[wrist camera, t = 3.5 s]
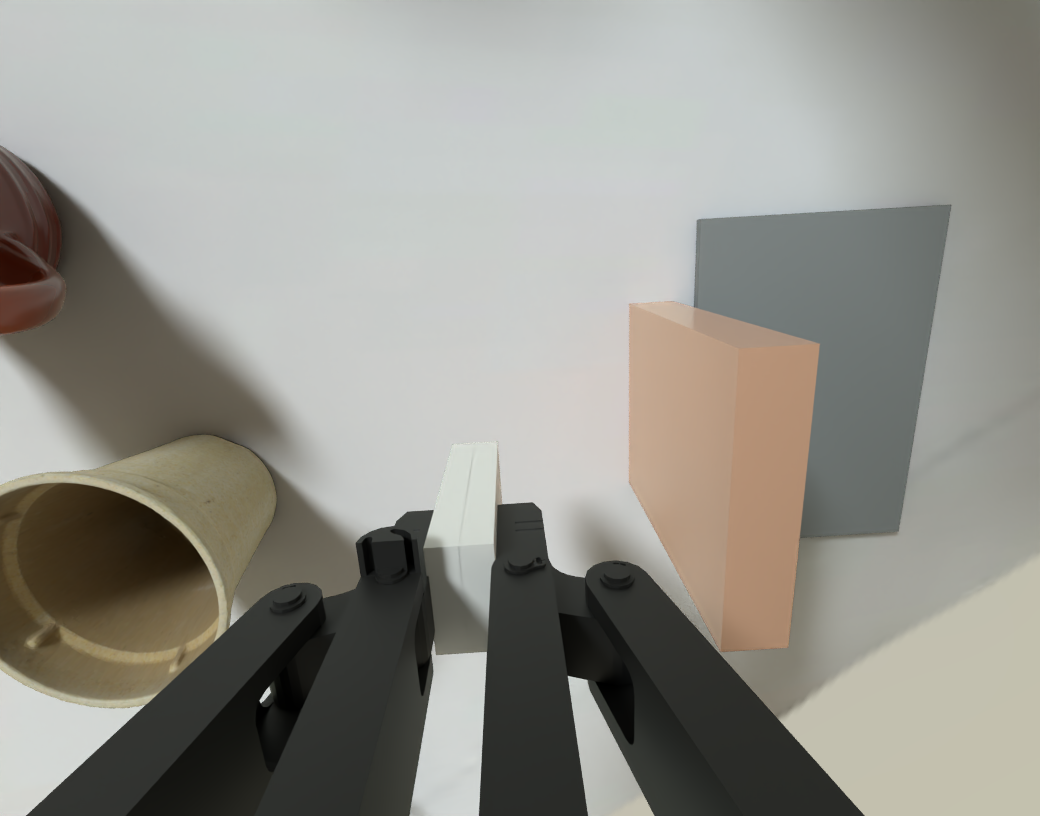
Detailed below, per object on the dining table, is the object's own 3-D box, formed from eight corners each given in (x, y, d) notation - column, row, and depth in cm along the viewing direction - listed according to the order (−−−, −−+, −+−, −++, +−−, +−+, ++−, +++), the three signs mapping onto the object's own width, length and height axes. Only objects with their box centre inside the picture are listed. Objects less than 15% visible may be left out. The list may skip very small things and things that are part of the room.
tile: (629, 303, 25) (738, 348, 13) (675, 300, 25) (825, 343, 13) (628, 482, 27) (720, 651, 16) (670, 479, 27) (793, 647, 16)
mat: (697, 220, 24) (701, 219, 23) (942, 205, 24) (951, 204, 23) (685, 540, 28) (688, 545, 28) (891, 526, 28) (898, 531, 28)
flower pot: (351, 491, 27) (282, 598, 19) (236, 605, 28) (125, 750, 20) (195, 361, 25) (39, 416, 16) (81, 493, 26) (-112, 603, 18)
